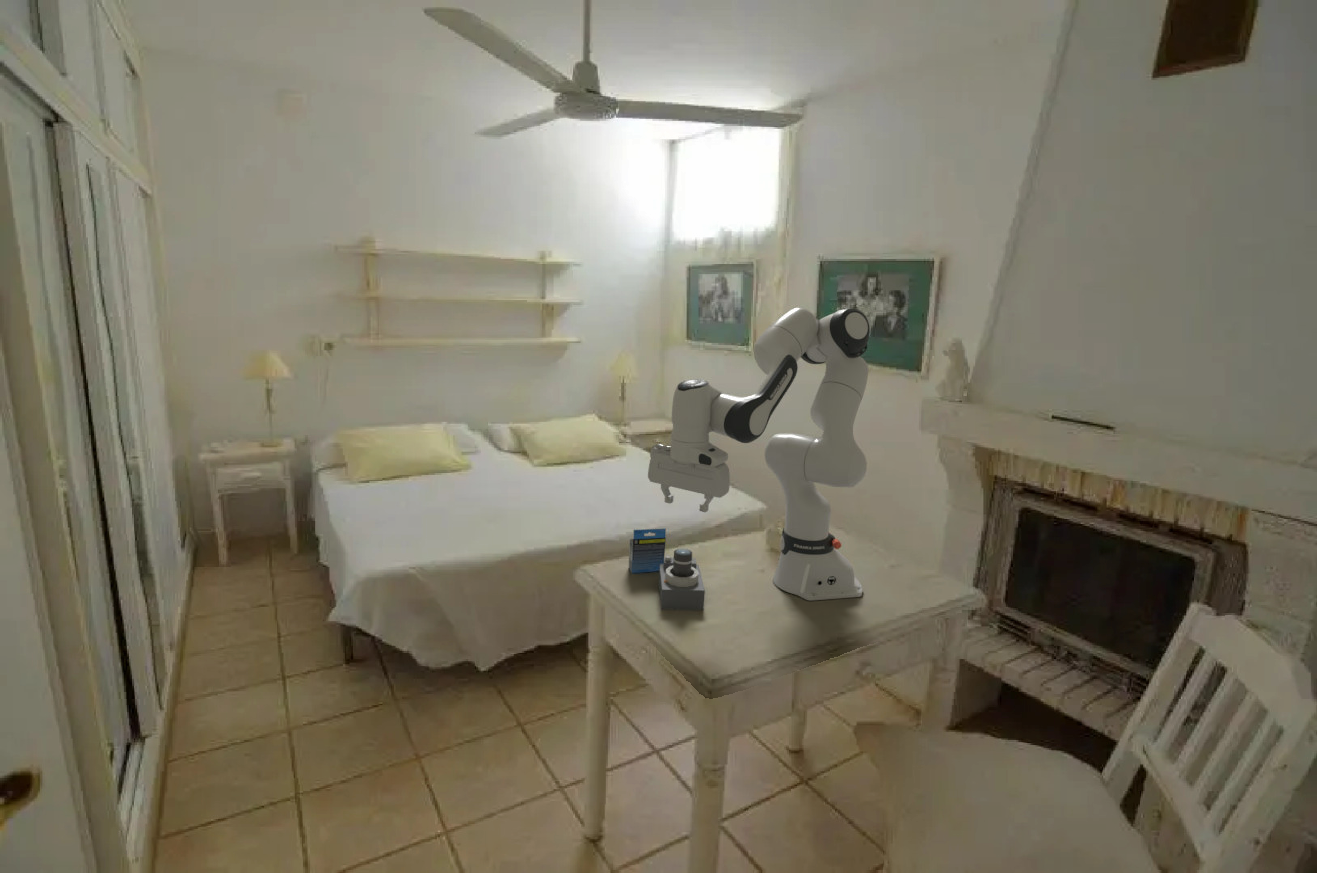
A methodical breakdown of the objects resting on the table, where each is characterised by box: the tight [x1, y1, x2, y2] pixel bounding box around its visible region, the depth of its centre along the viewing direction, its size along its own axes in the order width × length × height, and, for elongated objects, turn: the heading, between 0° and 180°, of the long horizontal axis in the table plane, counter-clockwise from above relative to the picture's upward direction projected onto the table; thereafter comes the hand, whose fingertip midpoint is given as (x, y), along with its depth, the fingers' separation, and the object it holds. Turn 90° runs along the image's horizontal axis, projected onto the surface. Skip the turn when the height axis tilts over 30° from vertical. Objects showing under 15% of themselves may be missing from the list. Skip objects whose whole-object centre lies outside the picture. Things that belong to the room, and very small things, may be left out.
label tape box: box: [628, 528, 667, 574], centre depth 174 cm, size 9×4×12 cm, turn 105°
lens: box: [672, 548, 693, 577], centre depth 159 cm, size 4×4×7 cm
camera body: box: [658, 555, 706, 611], centre depth 161 cm, size 10×14×8 cm
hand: (686, 506), depth 156 cm, fingers open, 8 cm apart
